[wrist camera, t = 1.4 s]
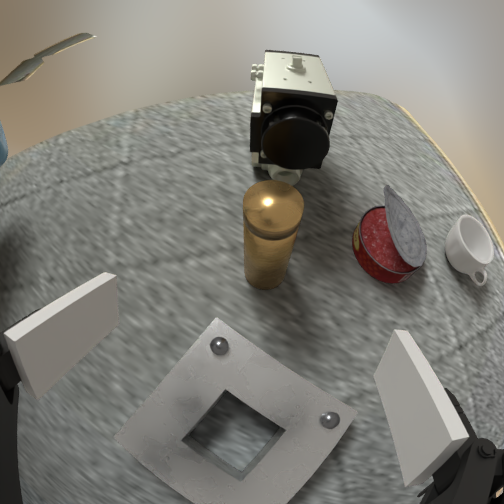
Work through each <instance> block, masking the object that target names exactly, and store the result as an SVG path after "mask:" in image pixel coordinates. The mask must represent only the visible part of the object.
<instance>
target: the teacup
mask: <svg viewBox="0 0 504 504" xmlns="http://www.w3.org/2000/svg"><path fill="white" fill-rule="evenodd" d="M445 252H446V256H447V258H448V260H449V262H450V264H451V265H452V266H453V267H454V268H455V269H456V270H457V271H459V272H461V273H465V274H468V275H469V276H470V277H471V279H472V280H473V282H474V283H475V284H476V285H478V286H483V285H484V284H485V283H486V281H487V273H486V271H485V269H484V267H485V266H486V265H487V264H489V263H490V262H491V261H492V259H493V256H494V248H493V244H492V241H491V238H490V236H489V234H488V232H487V230H486V229H485V228H484V226H483V225H482V224H481V223H480V222H479V221H478V220H477V219H475V218H474V217H472V216H470V215H463V216H461V217H460V218H459V219H458V220H457V222H456V223H455V224H454V226H453V227H452V228H451V230H450V231H449V233H448V235H447V238H446V241H445ZM476 272H480V273H482V274H483V276H484V280H483V282H482V283H479V282H478V281H477V279H476V277H475V273H476Z"/></svg>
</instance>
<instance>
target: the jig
mask: <svg viewBox="0 0 504 504" xmlns="http://www.w3.org/2000/svg"><path fill="white" fill-rule="evenodd" d="M227 390H228V391H229V392H230V393H232V394H233V395H234V396H236V397H237V398H239V399H240V400H241V401H243V402H244V403H246V404H247V405H249V406H250V407H252V408H253V409H254V410H256V411H257V412H259V413H260V414H262V415H263V416H265V417H267V418H268V419H270V420H271V421H273V422H274V423H276V424H277V425H279V426H281V427H280V428H279V429H278V431H277V432H276V433H275V434H274V435H273V437H272V438H271V439H270V440H269V442H268V443H267V444H266V445H265V446H264V447H263V449H262V450H261V451H260V452H259V453H258V454H257V456H256V457H255V458H254V459H253V460H252V461H251V462H250V463H249V464H248V466H247V467H246V468H245V469H244V470H243V471H242V472H241V471H240V470H238V469H236V468H235V467H233V466H232V465H230V464H229V463H227V462H225V461H224V460H222V459H221V458H220V457H218V456H217V455H215V454H214V453H212V452H211V451H209V450H208V449H207V448H205V447H204V446H202V445H201V444H200V443H198V442H197V441H196V440H194V439H193V438H192V437H191V436H189V434H190V433H191V432H192V431H193V430H194V429H195V428H196V426H197V425H198V424H199V423H200V422H201V421H202V420H203V418H204V417H205V416H206V415H207V414H208V413H209V411H210V410H211V409H212V408H213V407H214V406H215V404H216V403H217V402H218V401H219V400H220V398H221V397H222V396H223V395H224V394H225V392H226V391H227ZM357 413H358V411H356V410H355V409H353V408H351V407H349V406H348V405H346V404H344V403H343V402H341V401H339V400H338V399H336V398H334V397H333V396H331V395H329V394H328V393H326V392H325V391H323V390H321V389H320V388H318V387H316V386H315V385H313V384H312V383H310V382H309V381H307V380H305V379H304V378H302V377H301V376H299V375H298V374H296V373H295V372H293V371H292V370H290V369H289V368H287V367H286V366H284V365H283V364H281V363H280V362H278V361H277V360H275V359H274V358H272V357H271V356H270V355H268V354H267V353H265V352H264V351H262V350H261V349H259V348H258V347H257V346H255V345H254V344H252V343H251V342H250V341H248V340H247V339H245V338H244V337H243V336H241V335H240V334H239V333H237V332H236V331H235V330H233V329H232V328H230V327H229V326H228V325H226V324H225V323H224V322H222V321H221V320H220V319H219V318H217V317H216V318H215V319H214V320H213V322H212V323H211V324H210V325H209V326H208V328H207V329H206V330H205V331H204V332H203V333H202V335H201V336H200V337H199V338H198V339H197V341H196V342H195V343H194V344H193V345H192V346H191V348H190V349H189V350H188V351H187V352H186V354H185V355H184V356H183V357H182V358H181V359H180V361H179V362H178V363H177V364H176V365H175V366H174V368H173V369H172V370H171V371H170V372H169V374H168V375H167V376H166V377H165V378H164V379H163V380H162V382H161V383H160V384H159V385H158V386H157V387H156V389H155V390H154V391H153V392H152V393H151V394H150V396H149V397H148V398H147V399H146V400H145V401H144V403H143V404H142V405H141V406H140V407H139V408H138V409H137V411H136V412H135V413H134V414H133V415H132V416H131V417H130V419H129V420H128V421H127V422H126V423H125V424H124V425H123V427H122V428H121V429H120V430H119V431H118V432H117V433H116V435H115V436H114V438H115V439H116V440H117V441H118V442H119V443H120V444H121V445H122V446H123V447H124V448H125V449H126V450H127V451H128V452H129V453H130V454H131V455H132V456H133V457H135V458H136V459H137V460H138V461H139V462H140V463H141V464H143V465H144V466H145V467H146V468H147V469H148V470H150V471H151V472H152V473H153V474H155V475H156V476H157V477H158V478H160V479H161V480H162V481H163V482H165V483H166V484H167V485H169V486H170V487H171V488H173V489H174V490H175V491H177V492H178V493H180V494H181V495H183V496H184V497H185V498H187V499H188V500H190V501H191V502H193V503H194V504H286V503H287V502H288V501H289V500H290V499H291V498H292V497H293V496H294V495H295V494H296V493H297V492H298V491H299V490H300V488H301V487H302V486H303V485H304V484H305V483H306V482H307V481H308V479H309V478H310V477H311V476H312V475H313V473H314V472H315V471H316V470H317V469H318V467H319V466H320V465H321V464H322V462H323V461H324V460H325V459H326V457H327V456H328V455H329V453H330V452H331V451H332V449H333V448H334V447H335V445H336V444H337V442H338V441H339V440H340V438H341V437H342V435H343V434H344V433H345V431H346V430H347V428H348V427H349V425H350V424H351V422H352V421H353V419H354V418H355V416H356V415H357Z"/></svg>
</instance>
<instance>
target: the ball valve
mask: <svg viewBox="0 0 504 504" xmlns="http://www.w3.org/2000/svg"><path fill="white" fill-rule="evenodd" d="M256 71H257V73H256ZM255 78H256V83H255V90H254V97H253V104H252V111H251V122H250V152H252V166H253V167H261V168H262V170H268V172H269V175H270V176H271V178H272V180H277V181H282V182H285V183H287V184H290V185H291V186H293V185H295V184H296V183H297V182H298V181H299V180H300V176H301V175H302V172H303V169H307V168H316V169H320V168H321V165H322V161H323V159H324V158H325V156H326V155H327V153H328V151H329V147H330V141H329V134H330V130H331V126H332V122H333V118H334V114H335V110H336V106H337V102H338V100H337V97H336V95H335V92H334V90H333V87H332V85H331V82H330V80H329V78H328V75H327V73H326V71H325V68H324V66H323V64H322V61H321V59H320V57H319V56H318V55H312V54H304V53H296V52H286V51H273V50H265V59H264V65H262V64H260V65H259V67H257V65H256V64H253V65H252V71H251V80H253V81H254V80H255Z"/></svg>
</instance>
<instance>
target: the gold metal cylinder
mask: <svg viewBox="0 0 504 504" xmlns="http://www.w3.org/2000/svg"><path fill="white" fill-rule="evenodd" d="M303 210H304V201H303V198H302V196H301V194H300V193H299V192H298V190H297V189H295V188H294V187H293V186H291V185H290V184H287V183H285V182H282V181H277V180H266V181H261V182H258V183H256V184H254V185H253V186H251V187H250V188H249V189H248V190H247V192H246V193H245V195H244V199H243V220H244V271H245V276H246V279H247V280H248V282H249V283H250V284H251V285H252V286H254V287H256V288H258V289H262V290H269V289H273V288H275V287H277V286H278V285H279V284H281V282H282V281H283V279H284V277H285V274H286V270H287V267H288V263H289V260H290V256H291V253H292V249H293V246H294V242H295V239H296V235H297V232H298V228H299V225H300V222H301V218H302V214H303Z"/></svg>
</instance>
